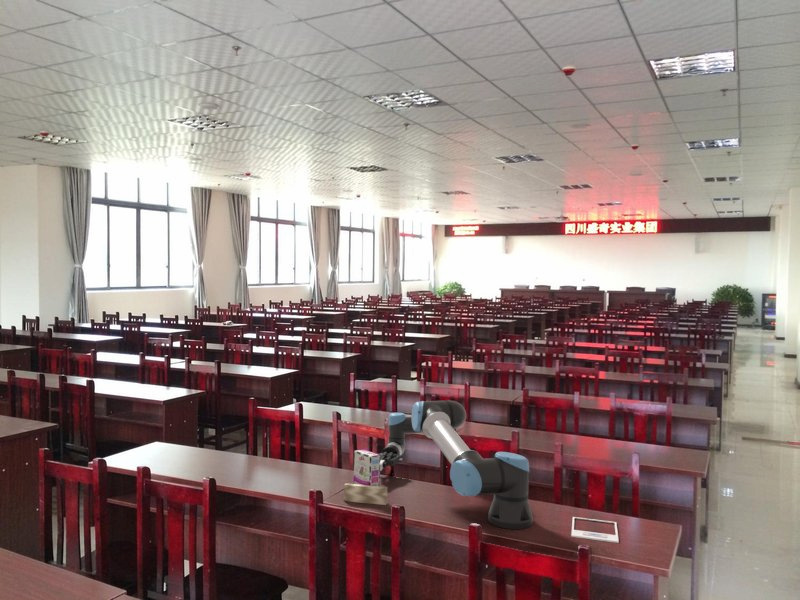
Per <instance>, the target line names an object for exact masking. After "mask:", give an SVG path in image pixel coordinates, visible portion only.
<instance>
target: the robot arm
mask: <svg viewBox="0 0 800 600" xmlns="http://www.w3.org/2000/svg"><path fill="white" fill-rule="evenodd" d="M466 420H467V411H466V409H465V407H464V406H463V405H462V404H461V403H460V402H458V401H456V400H449V399H448V400H428V401H424V400H421V401H416V402H414V404H413V406H412V409H411V416H406V414H405V413H404V412H391V413H390V414H389V416H388V430H389V432H390V437H389V439H387V445H386V446H385V447H384V448H382V449H383V450H382V451H381V453H378V455H380V472H382V470H383V469H384V468H387V467H388V466H389V467H394V466H395V465H398V464H400V463H402V462H403V454H404V453H405V452H406V448H407V443H406V440H405V439H406V435H410V434H424V436H426V437H427V438H428V439H432V440H433V441H434V443H435V444H436V445H437V446H438V449H440V451H441V453H442V454H443V455H444V457H445V458H446V459H447V461H448V462H449V464H450V465H451V466H450V470H449V478H450V481H451V485H452V487H453V490H454V491H455V492H456V493H458V495H459V496H462V497H463V496H464V497H475V496H484V495H493V499H492V502H491V505H490V508H489V510H488V514H487V520H488V522H489V523H490V524H491V525H493V526H496V527H498V528H502V529H508V530H523V529H528V528H530V527H532V525H533V519H534V518H533V513H532V511H531V510H532V509H531V507H530V504H529V481H530V480H529V478H530V462H529V459H528V458H526V457H525V456H523V455H520V454H517V453H513V452H507V451H498V452H496V453H495V454H494V457H493V458H483V457H482V456H481V454H480V453H479V452H478V451H477V450H473V449H471V448H469V446H468V445H467V444H466V442H465V441H464V440H463V439H462V438H461V436H460V435H459V434H458V432H457V431H456V430H455V429H458V428H461V427H462V426H464V424H465V422H466Z"/></svg>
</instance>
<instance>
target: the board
mask: <svg viewBox="0 0 800 600" xmlns="http://www.w3.org/2000/svg"><path fill="white" fill-rule="evenodd" d="M343 502H351V503H362V504H370V505H381V506H387V504H388V486H382V485H381V486H380V485H379V486H370V485H359V484H354V483H348V482H346V483H344V484H343Z"/></svg>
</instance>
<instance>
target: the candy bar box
mask: <svg viewBox="0 0 800 600" xmlns="http://www.w3.org/2000/svg"><path fill="white" fill-rule="evenodd" d="M353 458H354V461H353V484H359V485H370V486H380V482H381V481H380V480H381V479H380V478H381V477H380V476H381V475H380V474H381V471H380V455H379V453H376V452H373V451H369V450H367V449H358V450H357V449H356V450H354V456H353Z"/></svg>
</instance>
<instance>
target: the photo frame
mask: <svg viewBox="0 0 800 600" xmlns="http://www.w3.org/2000/svg"><path fill="white" fill-rule="evenodd" d="M575 519H576V520H585V521H593V522H599V523H600V522H601V523H607V524H614V532H615V534H610V533H602V532H601V533H600V532H595V531H594V532H593V531H586V530H579V529H575ZM571 521H572V523H571V535H570V537H571V538H577V539H585V540H586V539H587V540H591V541H592V540H593V541H602V542H609V543H614V544H615V543H617V544H619V543H620V542H619V532H618V525H617V521H610V520H601V519H593V518H585V517H577V516H572V520H571Z"/></svg>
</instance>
